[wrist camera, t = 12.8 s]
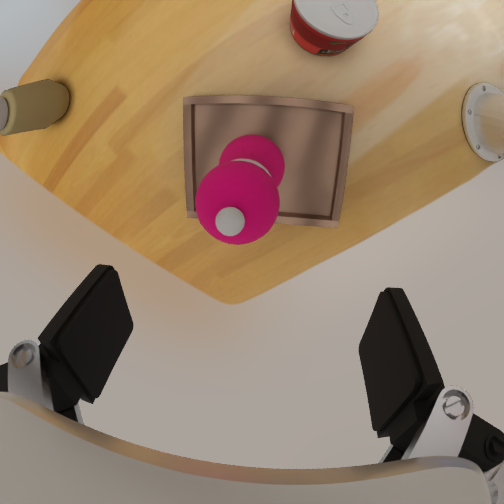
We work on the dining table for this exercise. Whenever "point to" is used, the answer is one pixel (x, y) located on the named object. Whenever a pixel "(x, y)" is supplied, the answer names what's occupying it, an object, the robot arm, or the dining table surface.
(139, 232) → the dining table surface
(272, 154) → the pepper mill
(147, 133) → the dining table surface
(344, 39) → the canned food
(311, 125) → the walnut tray
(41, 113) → the squeeze bottle
